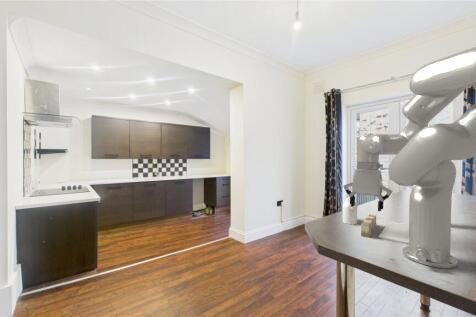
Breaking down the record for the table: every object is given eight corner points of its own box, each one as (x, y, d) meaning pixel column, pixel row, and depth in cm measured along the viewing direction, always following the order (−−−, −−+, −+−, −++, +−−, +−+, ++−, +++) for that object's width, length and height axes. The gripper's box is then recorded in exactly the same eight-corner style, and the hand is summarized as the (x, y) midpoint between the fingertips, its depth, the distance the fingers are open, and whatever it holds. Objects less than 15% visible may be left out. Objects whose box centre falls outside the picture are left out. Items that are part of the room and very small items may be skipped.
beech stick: (368, 238, 84) (368, 225, 84) (361, 236, 85) (361, 223, 85) (375, 226, 97) (376, 215, 97) (369, 225, 99) (369, 214, 99)
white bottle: (357, 196, 103) (357, 198, 98) (357, 222, 103) (357, 225, 98) (343, 195, 105) (342, 197, 101) (342, 220, 106) (342, 223, 101)
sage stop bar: (363, 223, 101) (363, 220, 101) (340, 218, 108) (340, 216, 108) (364, 222, 102) (364, 219, 102) (342, 218, 109) (342, 215, 109)
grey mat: (408, 244, 77) (408, 242, 77) (378, 238, 83) (378, 236, 83) (414, 226, 96) (414, 225, 96) (389, 222, 102) (389, 220, 102)
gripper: (394, 167, 86) (392, 210, 87) (347, 164, 97) (345, 202, 98) (391, 168, 80) (389, 214, 81) (341, 165, 92) (340, 206, 93)
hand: (365, 208), depth 90 cm, fingers open, 9 cm apart
